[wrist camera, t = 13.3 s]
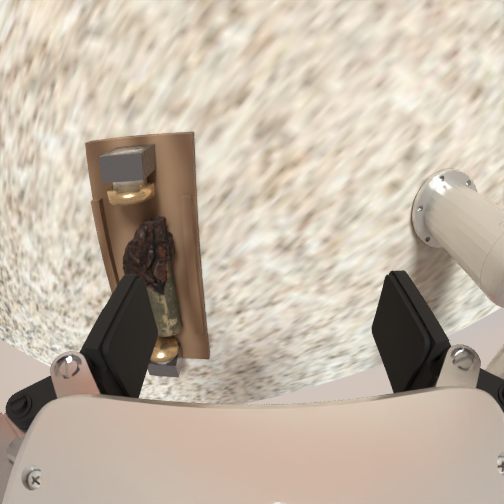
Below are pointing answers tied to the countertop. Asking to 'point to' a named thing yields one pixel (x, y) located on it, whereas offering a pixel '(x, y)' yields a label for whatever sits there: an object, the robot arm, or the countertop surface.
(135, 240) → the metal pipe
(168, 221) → the cradle
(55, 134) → the countertop surface
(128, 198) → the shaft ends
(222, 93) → the countertop surface
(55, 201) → the countertop surface
